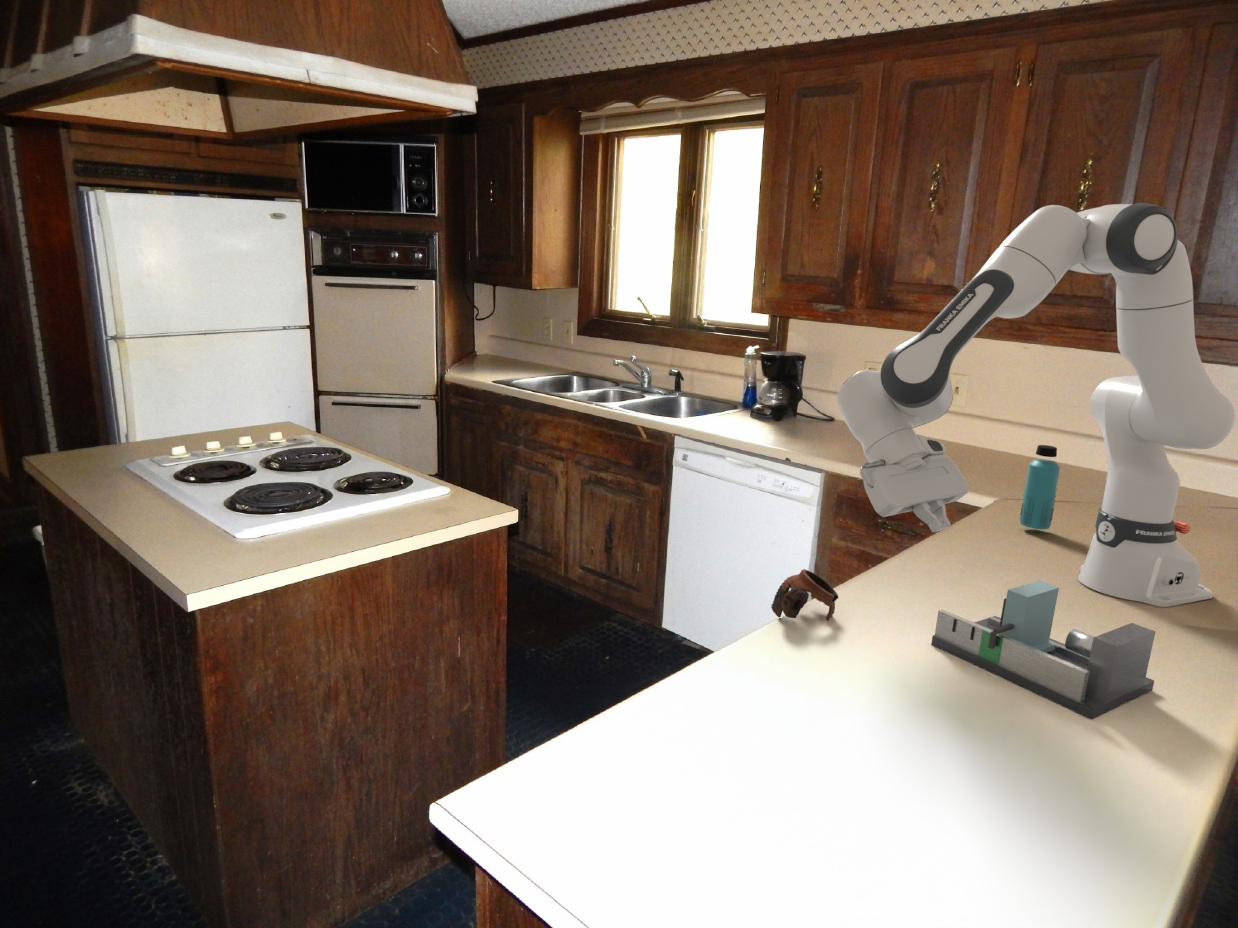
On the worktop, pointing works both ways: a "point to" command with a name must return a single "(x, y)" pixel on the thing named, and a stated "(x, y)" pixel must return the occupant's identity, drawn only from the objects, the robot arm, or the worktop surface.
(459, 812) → the worktop surface
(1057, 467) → the beverage bottle
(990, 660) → the frame
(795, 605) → the brown hollow ring part
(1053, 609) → the gauge slider
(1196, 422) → the robot arm
